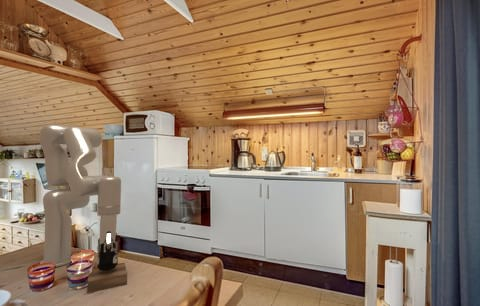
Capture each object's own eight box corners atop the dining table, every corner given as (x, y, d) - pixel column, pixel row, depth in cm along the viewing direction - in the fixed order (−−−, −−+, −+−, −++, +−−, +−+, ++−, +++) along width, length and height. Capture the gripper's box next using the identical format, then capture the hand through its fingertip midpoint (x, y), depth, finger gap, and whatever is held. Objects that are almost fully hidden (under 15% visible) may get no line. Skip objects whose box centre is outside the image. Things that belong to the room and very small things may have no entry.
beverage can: (108, 272, 86) (109, 237, 86) (92, 270, 87) (93, 236, 88) (121, 264, 92) (122, 232, 93) (106, 263, 94) (107, 231, 94)
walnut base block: (89, 278, 92) (89, 268, 92) (124, 271, 98) (124, 262, 98) (87, 292, 81) (87, 282, 81) (126, 284, 87) (127, 274, 87)
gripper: (98, 207, 96) (96, 253, 96) (96, 215, 81) (95, 270, 80) (119, 205, 100) (118, 250, 99) (121, 213, 85) (120, 265, 84)
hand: (107, 258), depth 90 cm, fingers closed on beverage can, 6 cm apart
